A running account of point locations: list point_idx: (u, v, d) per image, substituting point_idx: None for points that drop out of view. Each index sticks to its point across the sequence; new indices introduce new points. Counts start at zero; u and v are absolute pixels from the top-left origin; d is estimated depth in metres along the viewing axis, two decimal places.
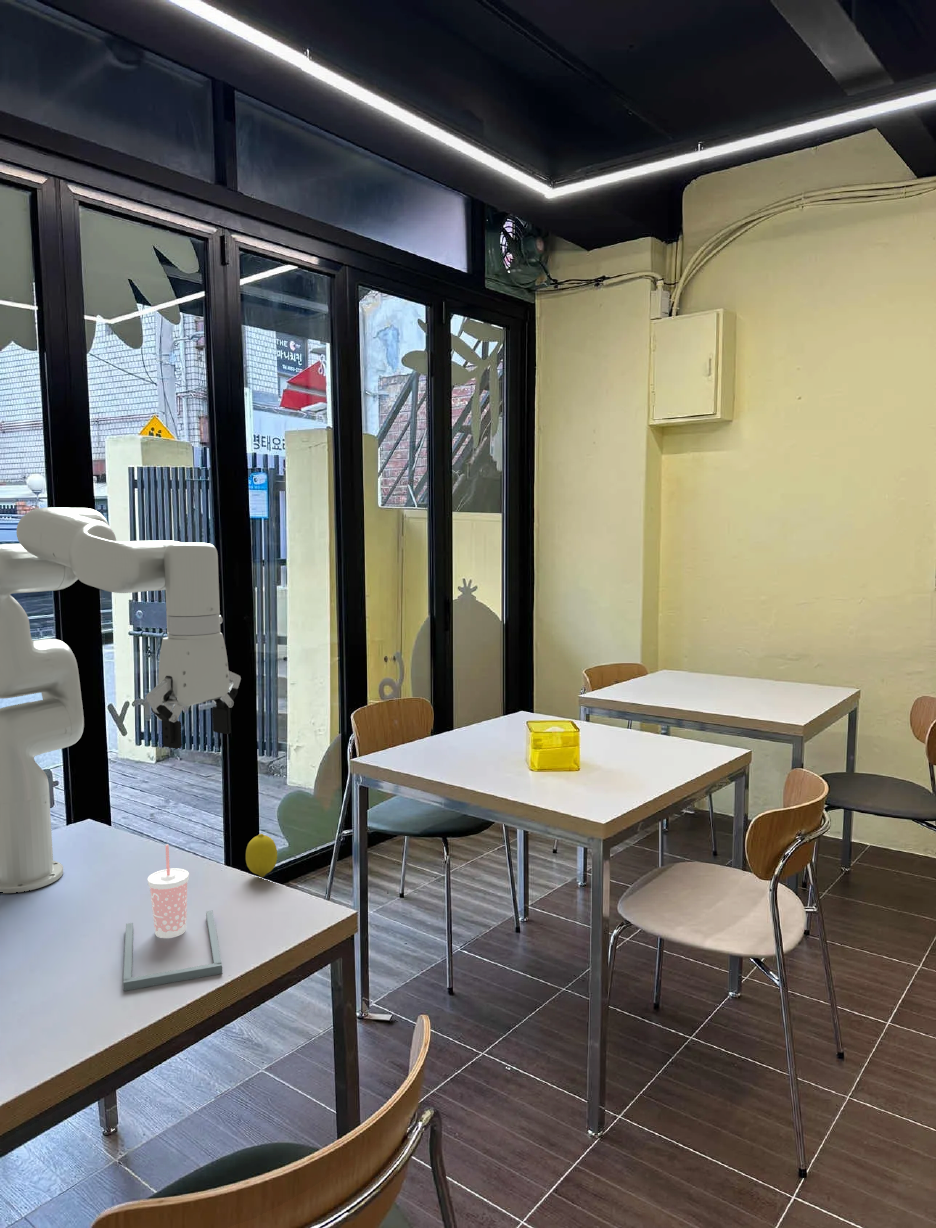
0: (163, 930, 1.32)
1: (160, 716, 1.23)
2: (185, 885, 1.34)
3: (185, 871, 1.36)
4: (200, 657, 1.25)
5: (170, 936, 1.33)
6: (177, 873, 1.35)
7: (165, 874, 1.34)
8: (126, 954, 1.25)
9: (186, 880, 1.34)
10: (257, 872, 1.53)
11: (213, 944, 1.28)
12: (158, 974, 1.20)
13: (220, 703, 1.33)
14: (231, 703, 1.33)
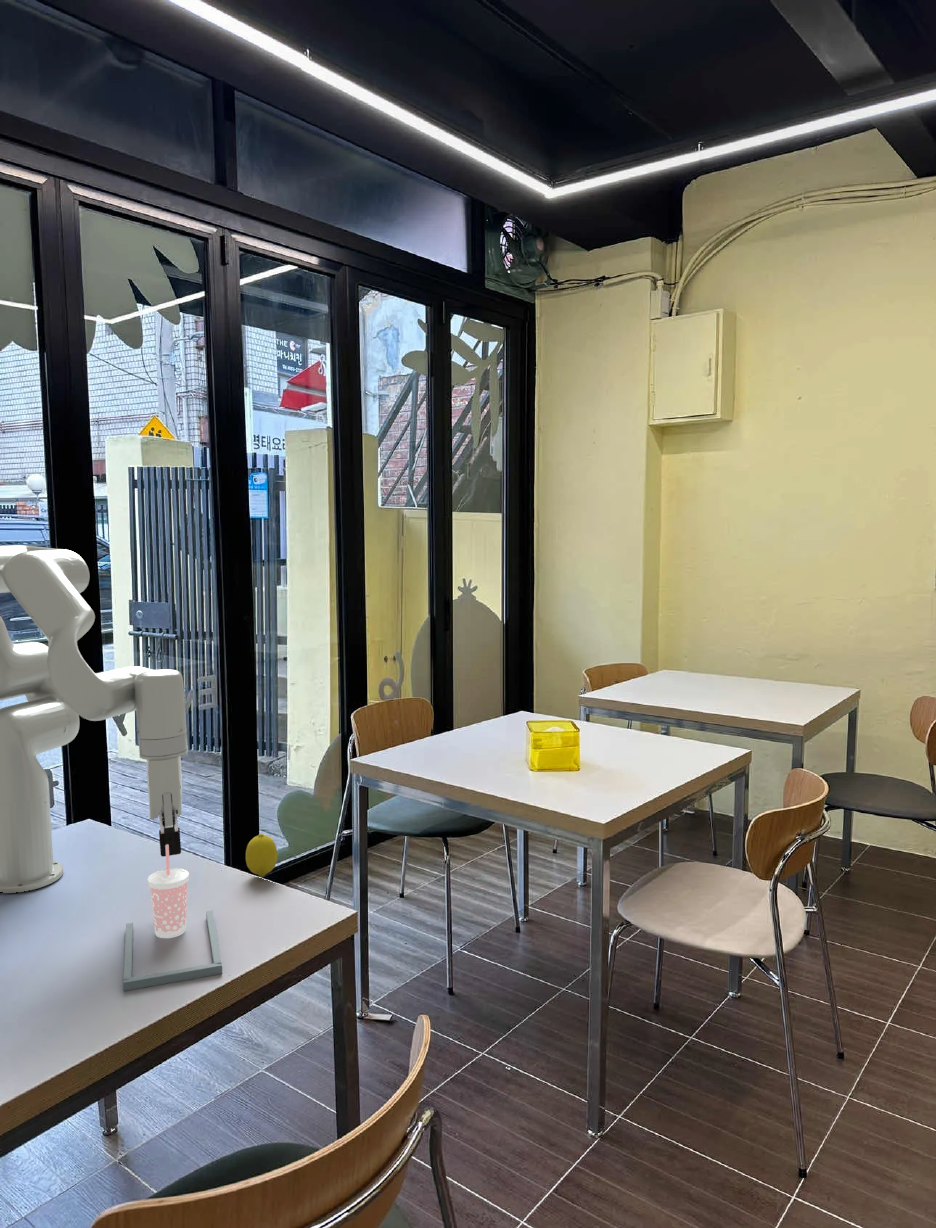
0: (163, 930, 1.32)
1: (168, 829, 1.40)
2: (185, 885, 1.34)
3: (185, 871, 1.36)
4: None
5: (170, 936, 1.33)
6: (177, 873, 1.35)
7: (165, 874, 1.34)
8: (126, 954, 1.25)
9: (186, 880, 1.34)
10: (257, 872, 1.53)
11: (213, 944, 1.28)
12: (158, 974, 1.20)
13: None
14: None
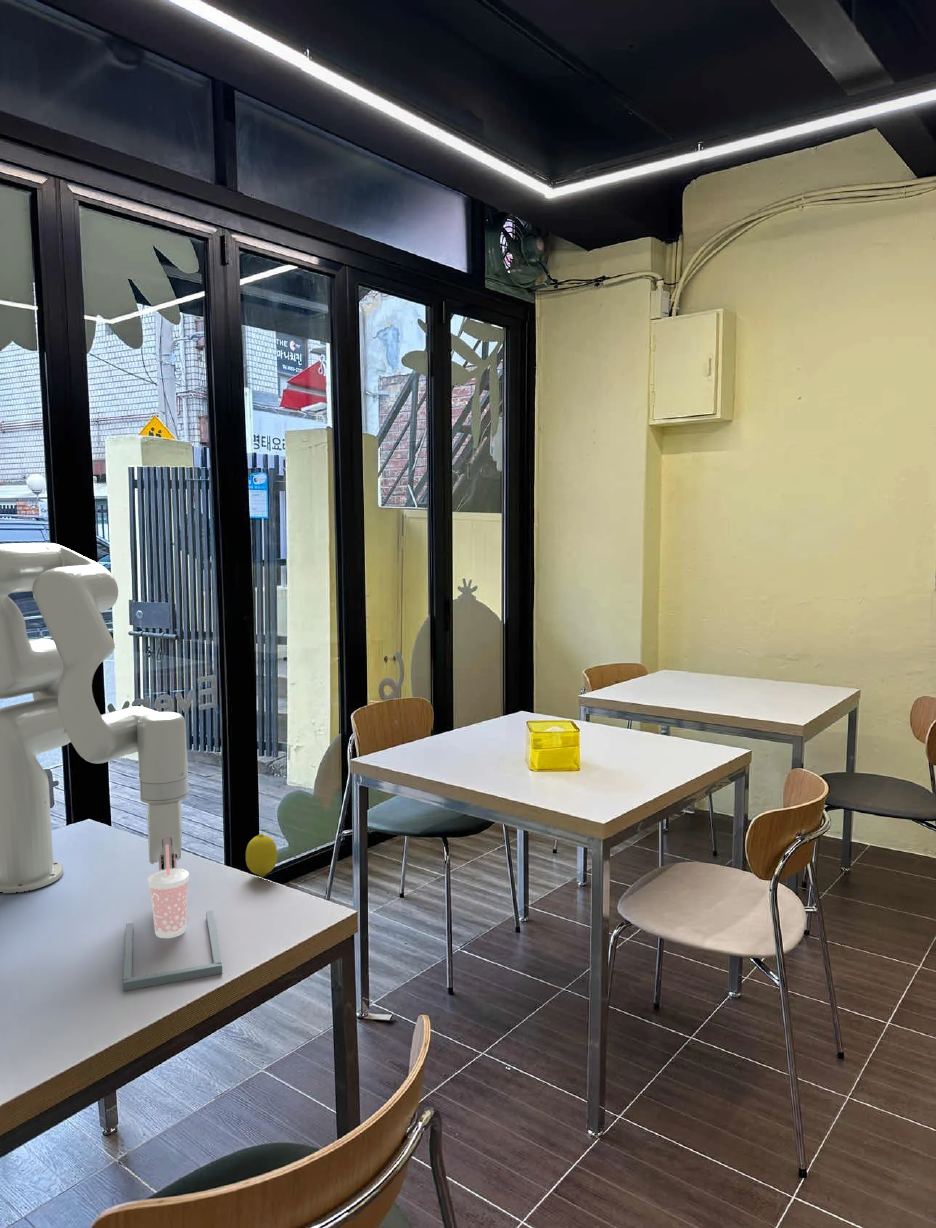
0: (163, 930, 1.32)
1: None
2: (185, 885, 1.34)
3: (185, 871, 1.36)
4: (181, 814, 1.41)
5: (170, 936, 1.33)
6: (177, 873, 1.35)
7: (165, 874, 1.34)
8: (126, 954, 1.25)
9: (186, 880, 1.34)
10: (257, 872, 1.53)
11: (213, 944, 1.28)
12: (158, 974, 1.20)
13: None
14: None
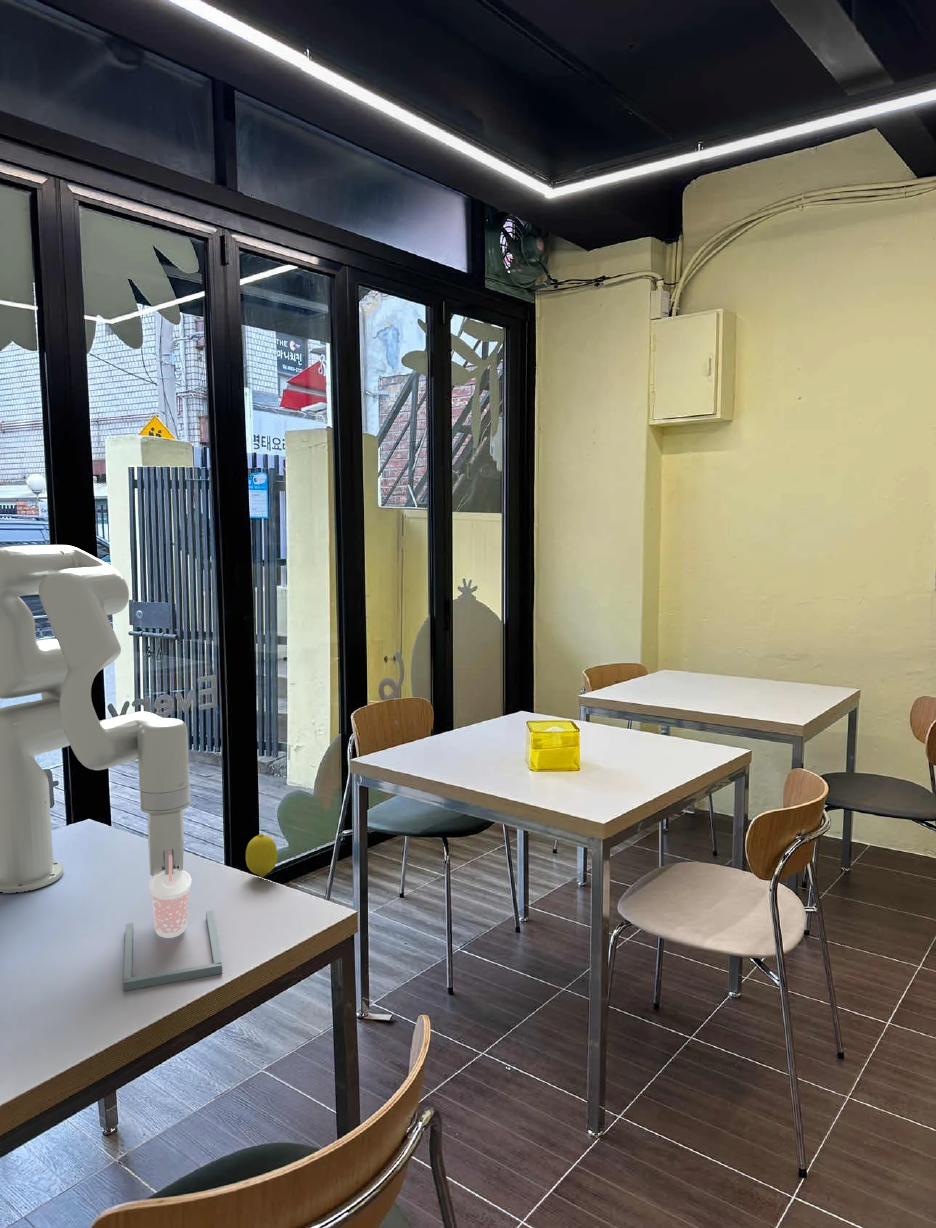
0: (164, 931, 1.32)
1: None
2: (187, 892, 1.32)
3: (187, 875, 1.33)
4: None
5: (170, 936, 1.33)
6: (179, 877, 1.32)
7: (167, 880, 1.31)
8: (126, 954, 1.25)
9: (189, 888, 1.31)
10: (257, 872, 1.53)
11: (213, 944, 1.28)
12: (158, 974, 1.20)
13: None
14: None
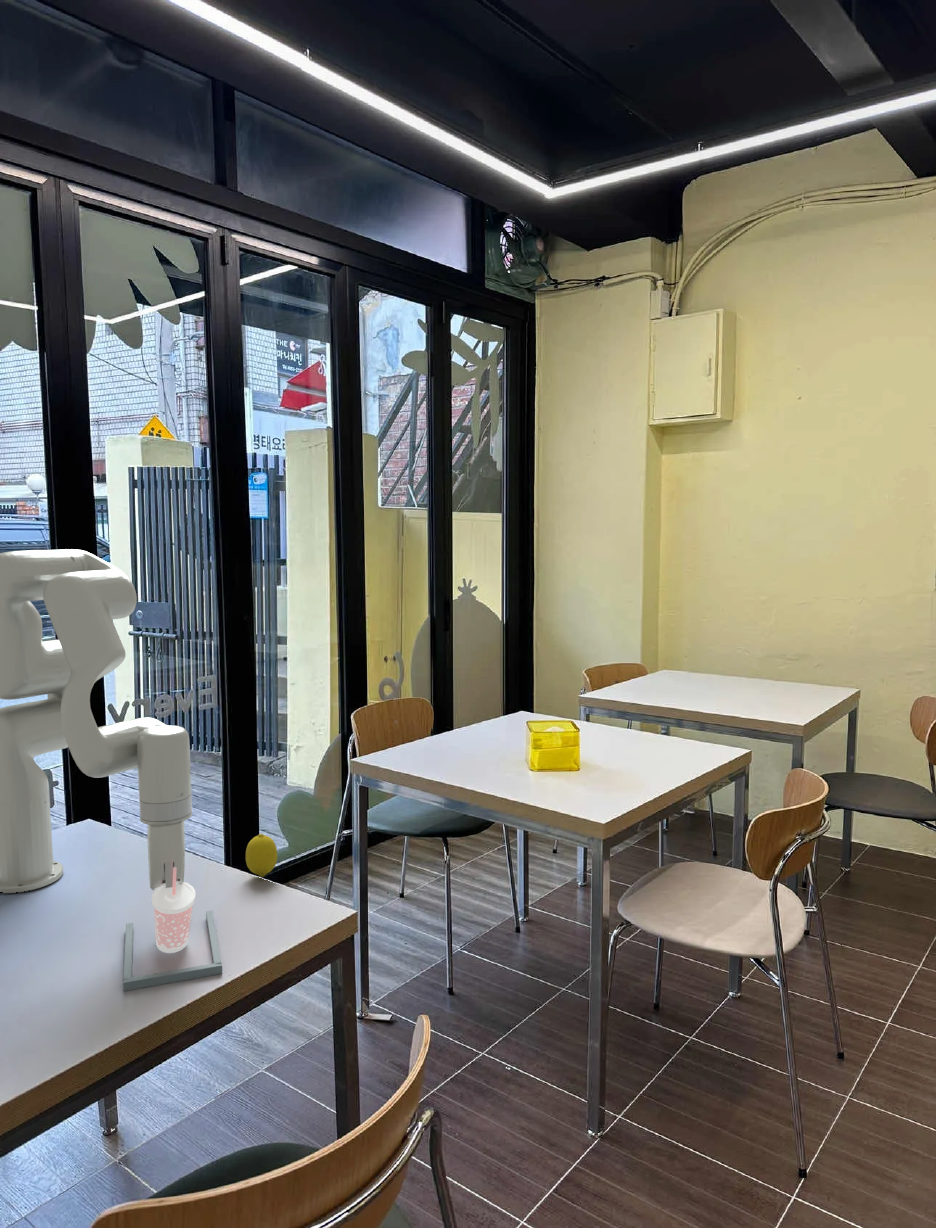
0: (167, 946, 1.27)
1: None
2: (192, 904, 1.27)
3: (190, 887, 1.28)
4: (184, 835, 1.32)
5: (173, 951, 1.28)
6: (182, 890, 1.28)
7: (170, 893, 1.26)
8: (126, 954, 1.25)
9: (193, 900, 1.27)
10: (257, 872, 1.53)
11: (213, 944, 1.28)
12: (158, 974, 1.20)
13: None
14: None
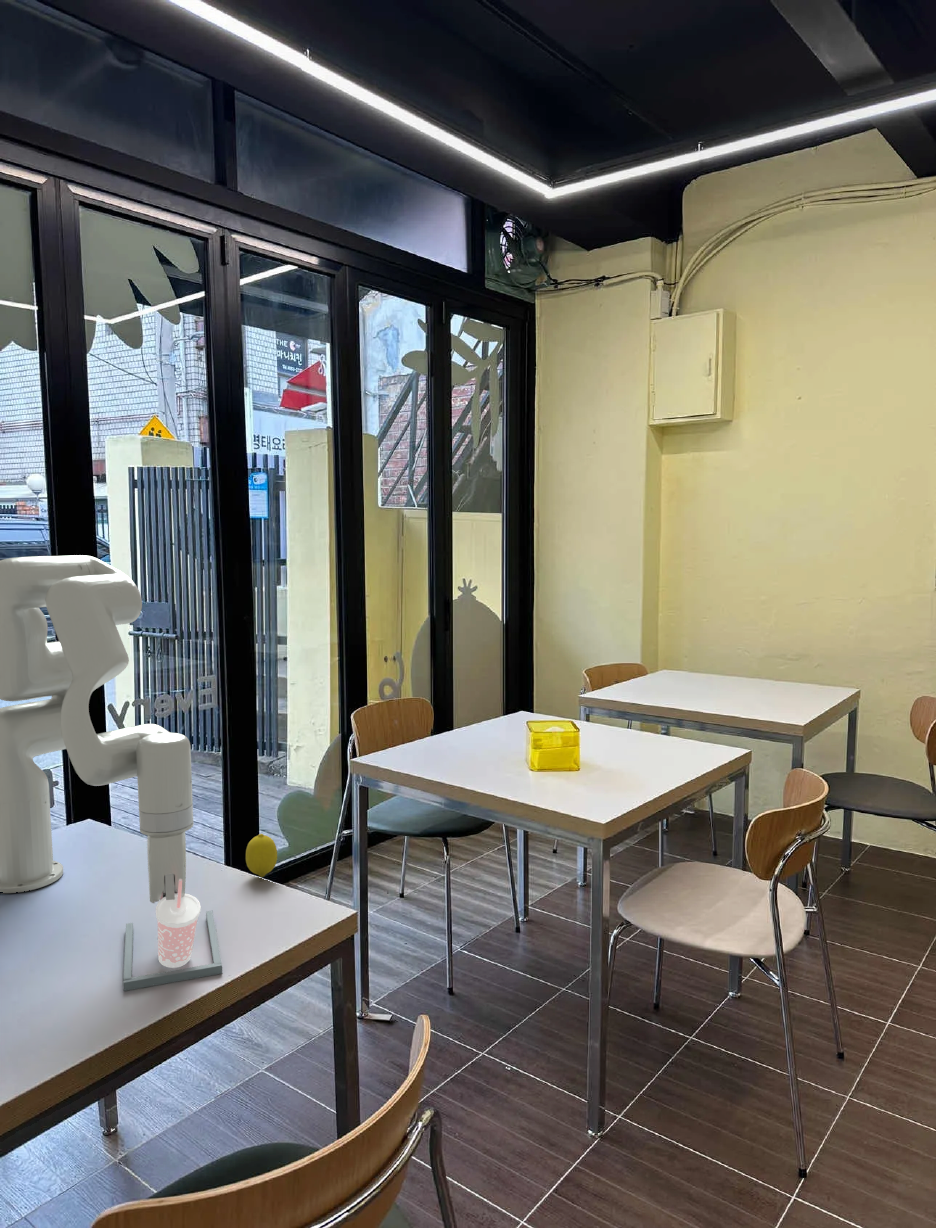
0: (172, 961, 1.23)
1: None
2: None
3: (194, 898, 1.25)
4: (185, 846, 1.27)
5: (179, 965, 1.24)
6: (186, 901, 1.24)
7: (175, 906, 1.22)
8: (126, 954, 1.25)
9: (199, 911, 1.23)
10: (257, 872, 1.53)
11: (213, 944, 1.28)
12: (158, 974, 1.20)
13: None
14: None
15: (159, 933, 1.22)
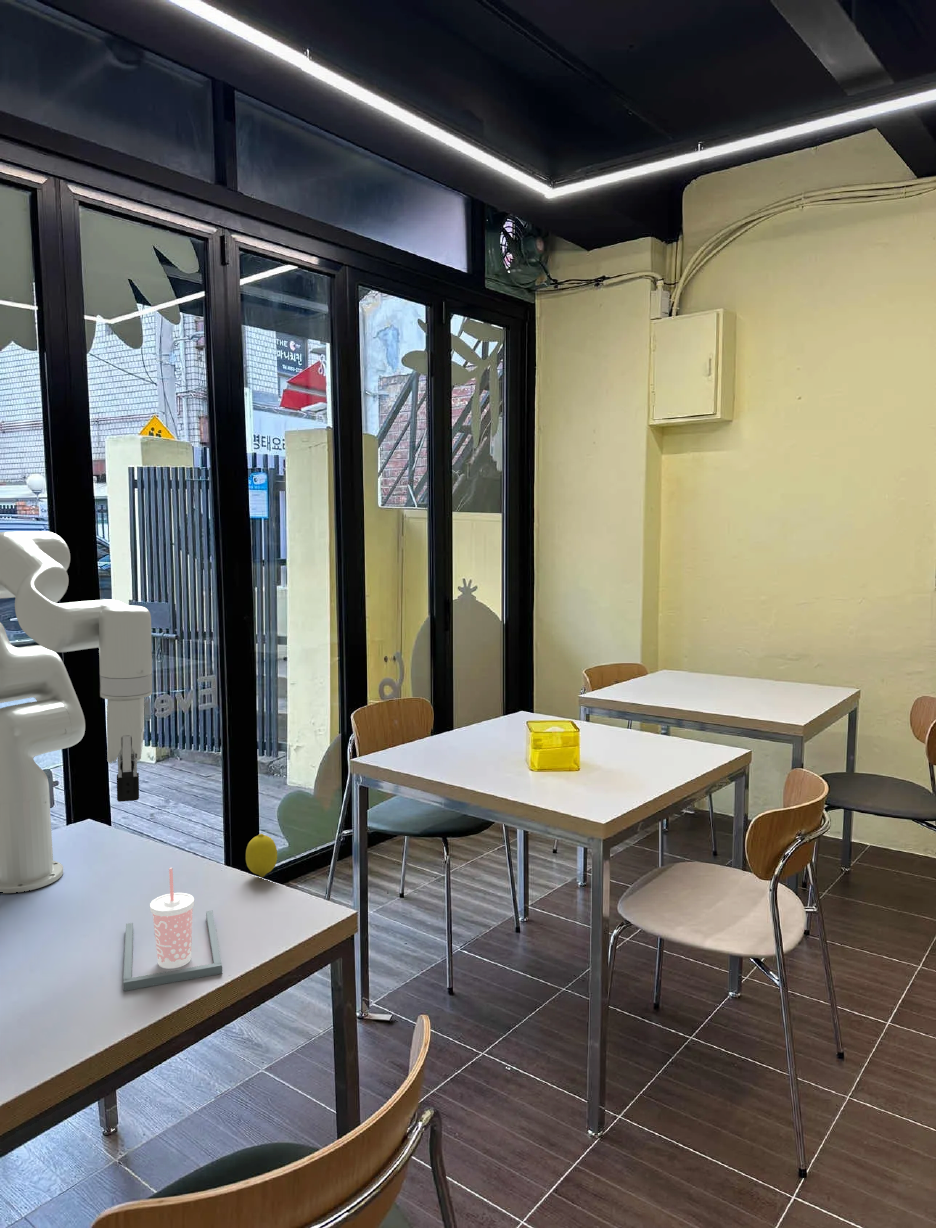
0: (171, 959, 1.24)
1: (126, 773, 1.33)
2: (191, 909, 1.26)
3: (187, 894, 1.27)
4: (143, 713, 1.34)
5: (179, 965, 1.24)
6: (179, 897, 1.27)
7: (168, 900, 1.25)
8: (126, 954, 1.25)
9: (193, 903, 1.26)
10: (257, 872, 1.53)
11: (213, 944, 1.28)
12: (158, 974, 1.20)
13: None
14: None
15: (155, 930, 1.24)
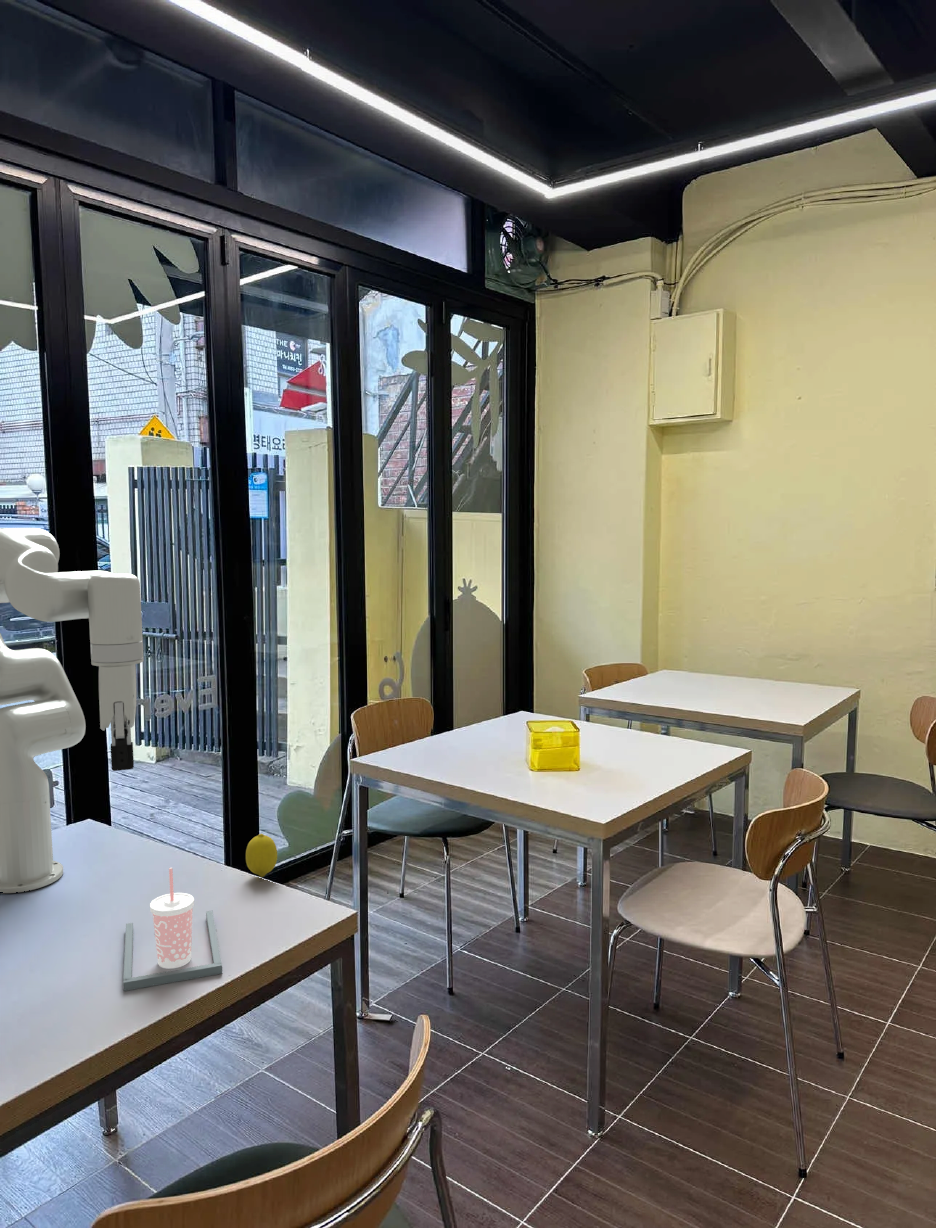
0: (171, 959, 1.24)
1: (120, 741, 1.33)
2: (191, 909, 1.26)
3: (187, 894, 1.27)
4: (135, 681, 1.34)
5: (179, 965, 1.24)
6: (179, 897, 1.27)
7: (168, 900, 1.25)
8: (126, 954, 1.25)
9: (193, 903, 1.26)
10: (257, 872, 1.53)
11: (213, 944, 1.28)
12: (158, 974, 1.20)
13: None
14: None
15: (155, 930, 1.24)
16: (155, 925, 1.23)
